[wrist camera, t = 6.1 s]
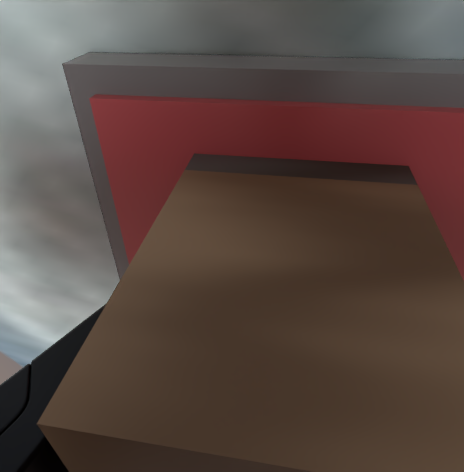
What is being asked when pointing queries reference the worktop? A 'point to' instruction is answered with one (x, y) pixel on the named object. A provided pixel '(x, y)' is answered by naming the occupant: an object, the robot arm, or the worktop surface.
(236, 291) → the brown cardboard box
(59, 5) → the worktop surface
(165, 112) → the ink pad
